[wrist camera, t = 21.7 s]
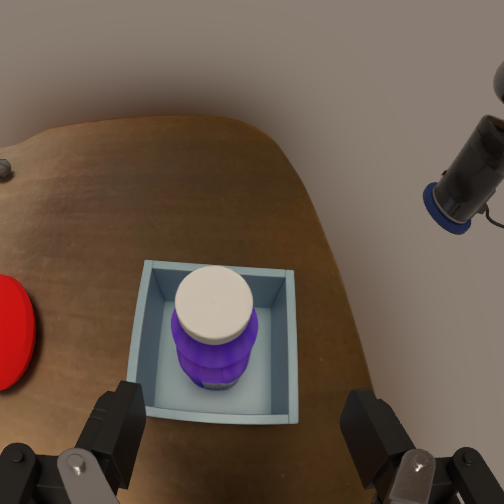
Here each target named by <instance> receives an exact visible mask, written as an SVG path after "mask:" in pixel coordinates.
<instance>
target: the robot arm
mask: <svg viewBox="0 0 504 504" xmlns="http://www.w3.org/2000/svg"><path fill="white" fill-rule="evenodd" d="M493 87H494V91H495V94H496V96H497V97H498V99H499V100H500V101H501V102H502V103H503V104H504V61H503V62H502V64H501V65H500V66H499V67H498V69H497V71H496V73H495V76H494V81H493ZM442 175H443V177H442V178H441V179H440V181H439V182H438V184H437V185H436V186H435V187H434V188H433V190H432V192H431V196H432V200H433V203H434V205H435V206H436V208H437V210H438V211H439V212H440V213H441V214H442V215H443V216H444V217H445V218H446V219H447V220H448V221H450V222H451V223H453V224H456V225H464V224H465V223H466V222H467V221H470V220H471V219H472V218H473V217H474V215H475V214H476V213H480V214H483V213H484V212H485V211H486V217H487V219H488V220H489V221H490V222H491V223H492V224H494V225H496V226H499V227H501V228H504V225H502V224H499V223H497V222H495V221H493V220H492V219H491V218H490V217H489V209H488V206H487V204H486V202H487V201H488V200H489V199H490V198H491V197H492V195H493V194H494V193H495V191H496V187H497V186H498V185H499V184H500V183H501V181H502V180H503V179H504V120H503V119H500V118H497V117H495V116H492V115H484V116H483V117H482V118H481V120H480V121H479V123H478V125H477V127H476V128H475V130H474V131H473V133H472V135H471V136H470V137H469V139H468V141H467V142H466V144H465V145H464V147H463V148H462V150H461V151H460V153H459V154H458V156H457V157H456V158H455V160H454V161H453V163H452V164H451V166H450V167H449V169H448V170H446V171H444V172H443V174H442ZM145 424H146V408H145V403H144V397H143V391H142V386H141V384H140V383H134V382H128V381H120V383H119V385H118V387H117V389H116V391H115V392H111V391H107V392H106V393H104V394H103V395H102V396H101V397H100V398H98V400H97V402H96V404H95V406H94V410H92V412H91V414H90V418H88V420H87V422H86V424H85V427H84V429H83V431H82V433H81V435H80V437H79V439H78V441H77V443H76V445H75V447H74V448H70V449H67V450H65V451H63V452H62V453H61V454H60V455H59V456H49V455H37V454H35V453H34V452H33V450H32V449H31V448H30V447H29V446H28V445H26V444H23V443H12V444H10V445H8V446H6V447H5V448H4V450H3V451H2V453H1V455H0V504H120V503H119V501H118V499H117V498H116V495H117V491H118V488H122V489H127V490H128V487H129V483H130V479H131V475H132V471H133V467H134V464H135V460H136V456H137V453H138V449H139V445H140V442H141V438H142V435H143V431H144V428H145ZM340 428H341V431H342V434H343V436H344V439H345V441H346V444H347V446H348V449H349V451H350V454H351V456H352V459H353V461H354V464H355V466H356V469H357V471H358V474H359V476H360V479H361V482H362V484H363V487H364V489H365V490H366V489H370V488H374V487H375V489H376V491H377V492H376V493H375V495H374V497H373V499H372V502H371V504H461V503H460V501H459V499H458V497H457V495H456V494H457V493H458V492H459V493H460V495H461V497H462V499H463V501H464V503H465V504H504V491H503V490H502V488H501V487H500V485H499V483H498V481H497V480H496V478H495V477H494V475H493V473H492V472H491V470H490V469H489V467H488V466H487V464H486V462H485V461H484V459H483V458H482V456H481V455H480V453H479V452H478V451H476V450H475V449H473V448H470V447H463V448H460V449H459V450H457V451H456V452H455V454H454V455H453V456H452V457H445V458H434V457H433V456H432V455H431V454H430V453H429V452H427V451H425V450H422V449H416V448H415V446H414V444H413V442H412V441H411V439H410V438H409V436H408V434H407V433H406V431H405V429H404V428H403V426H402V424H400V421H399V420H398V418H397V417H396V416H395V413H394V412H393V410H392V408H391V407H390V406H389V405H388V404H387V403H386V402H384V401H383V400H382V399H377V398H376V397H375V395H374V393H373V392H372V390H371V389H369V388H367V389H358V390H351V391H350V393H349V395H348V398H347V401H346V404H345V406H344V409H343V412H342V414H341V418H340Z"/></svg>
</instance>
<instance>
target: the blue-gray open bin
mask: <svg viewBox="0 0 504 504" xmlns="http://www.w3.org/2000/svg"><path fill="white" fill-rule="evenodd" d="M206 266H220V265H206V264H192V263H178V262H165V261H153V260H145V263H144V268H143V273H142V278H141V284H140V289H139V294H138V300H137V306H136V312H135V318H134V325H133V331H132V338H131V346H130V354H129V362H128V371H127V380H126V381H128V382H134V383H140V384H141V386H142V391H143V397H144V403H145V408H146V416H152V417H159V418H166V419H174V420H183V421H194V422H206V423H223V424H295V423H298V361H297V330H296V305H295V285H294V271H293V270H281V269H265V268H249V267H234V266H221V267H225V268H228V269H231V270H233V271H234V272H236V273H237V274H239V275H240V276H241V277H242V278H243V279H244V280H245V281H246V283H247V284H248V286H249V288H250V290H251V293H252V297H253V307H254V309H255V311H256V314H257V317H258V327H259V328H258V333H257V337H256V340H255V343H254V345H253V347H252V351H251V356H250V360H249V364H248V366H247V368H246V370H245V371H244V373H243V374H242V375H241V376H240V378H239V380H238V381H237V383H236V384H235V385H233V386H232V387H230V388H228V389H225V390H208V389H206V388H201V387H199V386H198V385H196V384H195V383H194V382H193V381H192V380H191V379H190V378H189V376H188V375H187V374H186V373H185V372H184V371H183V370H182V368H181V366H180V363H179V360H178V356H177V351H176V344H175V342H174V339H173V336H172V331H171V318H172V314H173V311H174V309H175V296H176V292H177V289H178V287H179V285H180V283H181V282H182V281H183V280H184V278H185V277H186V276H187V275H189V274H190V273H192V272H193V271H195V270H197V269H199V268H202V267H206Z"/></svg>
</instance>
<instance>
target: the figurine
mask: <svg viewBox="0 0 504 504" xmlns="http://www.w3.org/2000/svg"><path fill="white" fill-rule="evenodd" d="M10 173H11V164H10V163H9V162H8V161H7V160H6V159H0V177H2V178H4V177H6V176H7V175H8V174H10Z"/></svg>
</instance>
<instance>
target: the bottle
mask: <svg viewBox="0 0 504 504" xmlns="http://www.w3.org/2000/svg"><path fill="white" fill-rule="evenodd" d="M258 328H259V327H258V317H257V314H256V311H255V309H254V307H253V297H252V293H251V290H250V288H249V286H248V284H247V283H246V281H245V280H244V279H243V278H242V277H241V276H240V275H239V274H237V273H236V272H234V271H233V270H231V269H228V268H225V267H221V266H206V267H202V268H199V269H197V270H195V271H193V272H192V273H190V274H189V275H187V276H186V277H185V278H184V280H183V281H182V282H181V283H180V285H179V287H178V289H177V292H176V296H175V309H174V311H173V314H172V318H171V331H172V336H173V339H174V342H175V344H176V351H177V356H178V360H179V363H180V366H181V368H182V370H183V371H184V372H185V373H186V374H187V375H188V376H189V378H190V379H191V380H192V381H193V382H194V383H195V384H196V385H198V386H199V387H201V388H206V389H208V390H225V389H228V388H230V387H232V386H233V385H235V384H236V383H237V381H238V380H239V378H240V376H241V375H242V374H243V373H244V371H245V370H246V368H247V366H248V364H249V360H250V356H251V351H252V347H253V345H254V343H255V340H256V337H257V333H258Z"/></svg>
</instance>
